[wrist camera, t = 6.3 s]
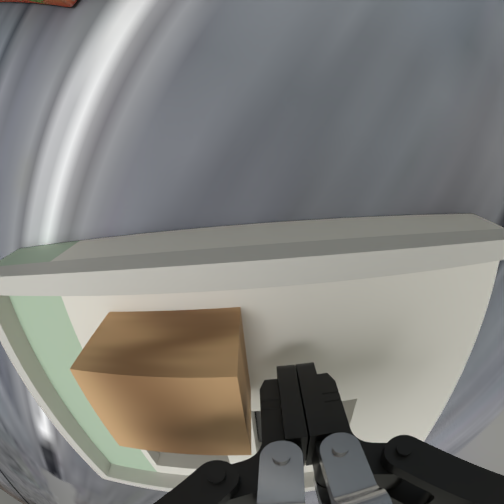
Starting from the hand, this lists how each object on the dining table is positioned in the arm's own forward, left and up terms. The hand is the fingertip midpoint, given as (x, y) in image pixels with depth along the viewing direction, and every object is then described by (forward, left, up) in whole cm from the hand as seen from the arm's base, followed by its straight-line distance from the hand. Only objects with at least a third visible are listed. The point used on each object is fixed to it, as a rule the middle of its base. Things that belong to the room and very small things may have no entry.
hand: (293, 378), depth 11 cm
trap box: (+2, +5, -5) cm, 7 cm away
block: (+5, 0, -2) cm, 5 cm away
